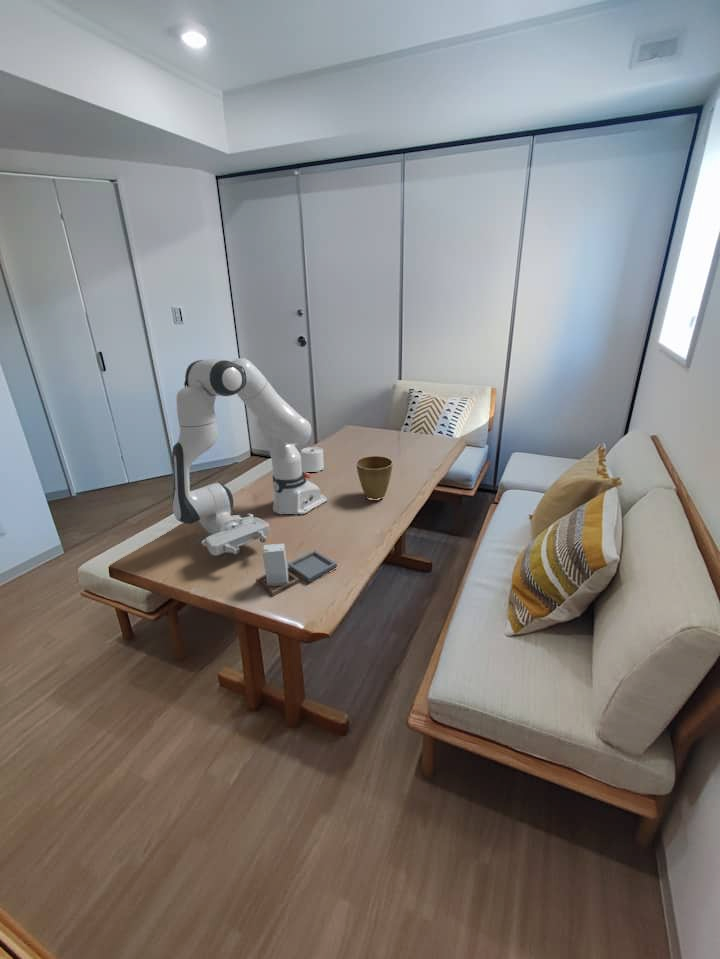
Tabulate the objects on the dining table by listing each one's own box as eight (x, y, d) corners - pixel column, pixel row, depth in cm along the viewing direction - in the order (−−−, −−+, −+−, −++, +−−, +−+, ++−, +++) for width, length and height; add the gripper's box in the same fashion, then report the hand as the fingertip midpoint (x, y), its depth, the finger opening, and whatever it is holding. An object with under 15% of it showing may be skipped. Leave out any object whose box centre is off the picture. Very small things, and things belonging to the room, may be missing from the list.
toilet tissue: (327, 466, 213) (326, 447, 209) (319, 475, 202) (317, 455, 198) (307, 464, 215) (305, 446, 211) (298, 473, 204) (296, 453, 200)
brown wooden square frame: (281, 569, 131) (281, 566, 130) (299, 582, 125) (299, 578, 124) (256, 582, 125) (255, 579, 125) (273, 596, 119) (273, 592, 119)
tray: (315, 555, 138) (314, 550, 137) (336, 568, 131) (336, 563, 130) (288, 569, 131) (288, 563, 130) (309, 583, 124) (309, 578, 123)
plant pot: (364, 488, 187) (363, 454, 181) (396, 493, 182) (397, 458, 176) (351, 502, 174) (350, 466, 168) (385, 507, 169) (386, 470, 163)
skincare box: (288, 577, 127) (285, 542, 123) (287, 586, 123) (284, 550, 119) (268, 578, 127) (263, 543, 122) (266, 587, 123) (262, 552, 118)
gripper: (197, 532, 131) (218, 549, 122) (255, 511, 145) (278, 525, 135) (200, 550, 134) (221, 567, 124) (256, 528, 147) (279, 542, 138)
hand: (251, 545), depth 130 cm, fingers open, 8 cm apart
